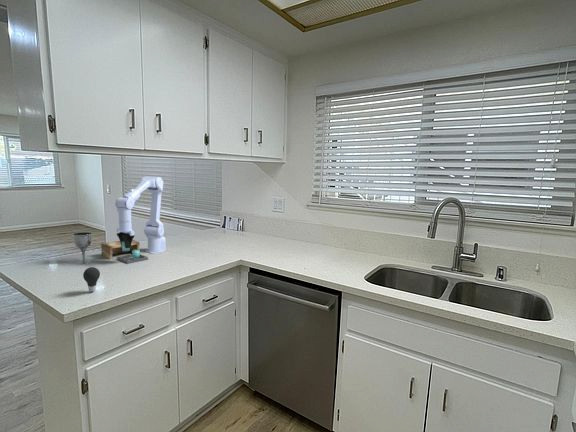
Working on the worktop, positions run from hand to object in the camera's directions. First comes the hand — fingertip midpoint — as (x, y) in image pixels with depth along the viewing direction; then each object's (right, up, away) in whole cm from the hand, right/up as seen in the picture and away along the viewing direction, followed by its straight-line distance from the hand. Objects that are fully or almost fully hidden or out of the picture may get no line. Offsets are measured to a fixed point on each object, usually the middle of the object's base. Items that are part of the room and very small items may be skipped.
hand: (126, 247), depth 162 cm
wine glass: (-21, -8, -2) cm, 22 cm away
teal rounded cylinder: (+1, -7, +8) cm, 10 cm away
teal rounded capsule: (0, -2, 0) cm, 2 cm away
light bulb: (+6, -14, -37) cm, 41 cm away
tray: (0, -8, +6) cm, 10 cm away
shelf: (-10, -6, +14) cm, 18 cm away
